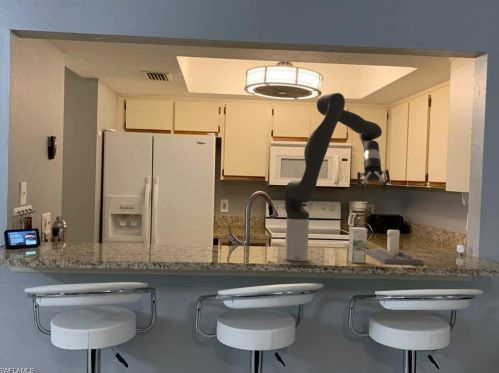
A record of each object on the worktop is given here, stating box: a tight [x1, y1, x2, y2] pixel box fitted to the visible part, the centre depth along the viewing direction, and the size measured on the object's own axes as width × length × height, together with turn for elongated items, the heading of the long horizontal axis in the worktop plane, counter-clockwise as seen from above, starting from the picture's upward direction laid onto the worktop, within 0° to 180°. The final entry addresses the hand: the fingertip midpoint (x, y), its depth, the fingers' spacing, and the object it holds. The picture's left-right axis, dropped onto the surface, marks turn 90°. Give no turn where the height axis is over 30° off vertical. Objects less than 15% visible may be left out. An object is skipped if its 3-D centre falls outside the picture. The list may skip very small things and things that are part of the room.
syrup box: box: [347, 226, 368, 264], centre depth 170 cm, size 6×6×14 cm
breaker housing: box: [366, 246, 424, 266], centre depth 180 cm, size 16×24×4 cm, turn 2°
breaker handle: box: [386, 229, 401, 255], centre depth 180 cm, size 4×3×11 cm
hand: (374, 191), depth 182 cm, fingers open, 8 cm apart
